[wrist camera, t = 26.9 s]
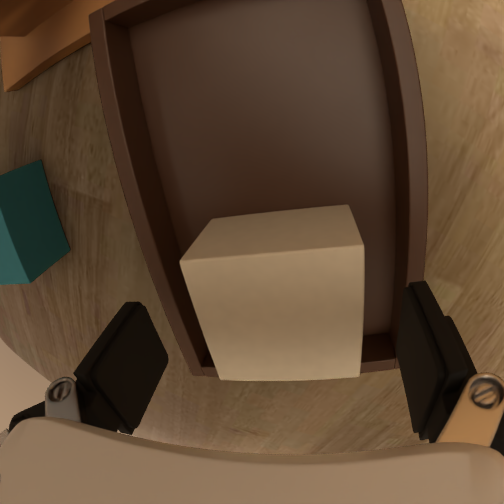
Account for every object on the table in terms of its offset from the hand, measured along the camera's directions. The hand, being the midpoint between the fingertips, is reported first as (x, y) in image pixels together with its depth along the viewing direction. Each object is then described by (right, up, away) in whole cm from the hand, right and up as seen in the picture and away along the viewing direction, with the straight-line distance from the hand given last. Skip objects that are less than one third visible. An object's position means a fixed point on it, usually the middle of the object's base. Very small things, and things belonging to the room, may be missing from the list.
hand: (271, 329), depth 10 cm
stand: (-11, +17, -1) cm, 21 cm away
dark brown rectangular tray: (0, +6, +3) cm, 6 cm away
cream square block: (+1, +2, +4) cm, 4 cm away
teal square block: (-15, +5, +6) cm, 17 cm away
